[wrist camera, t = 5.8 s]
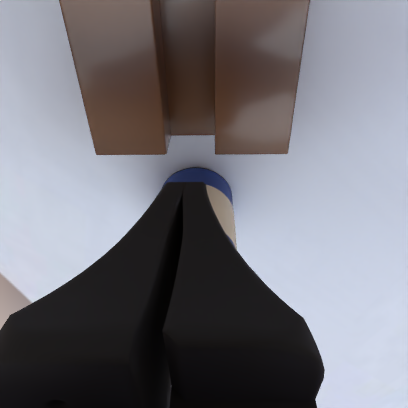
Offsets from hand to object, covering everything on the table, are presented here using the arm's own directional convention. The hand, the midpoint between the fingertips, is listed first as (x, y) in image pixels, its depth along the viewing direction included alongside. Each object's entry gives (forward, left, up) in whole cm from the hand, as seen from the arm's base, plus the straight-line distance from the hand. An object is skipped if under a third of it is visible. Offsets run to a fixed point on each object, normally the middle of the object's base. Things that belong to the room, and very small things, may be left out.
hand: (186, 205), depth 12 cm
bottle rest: (+2, -3, -6) cm, 7 cm away
